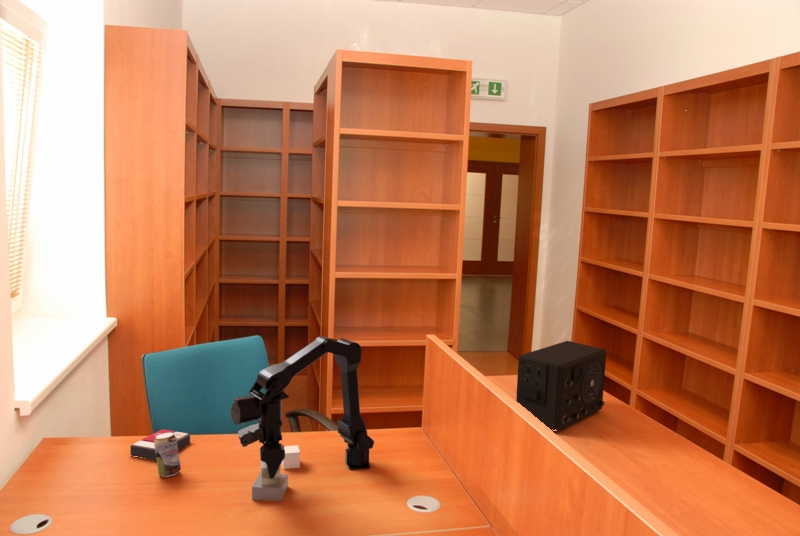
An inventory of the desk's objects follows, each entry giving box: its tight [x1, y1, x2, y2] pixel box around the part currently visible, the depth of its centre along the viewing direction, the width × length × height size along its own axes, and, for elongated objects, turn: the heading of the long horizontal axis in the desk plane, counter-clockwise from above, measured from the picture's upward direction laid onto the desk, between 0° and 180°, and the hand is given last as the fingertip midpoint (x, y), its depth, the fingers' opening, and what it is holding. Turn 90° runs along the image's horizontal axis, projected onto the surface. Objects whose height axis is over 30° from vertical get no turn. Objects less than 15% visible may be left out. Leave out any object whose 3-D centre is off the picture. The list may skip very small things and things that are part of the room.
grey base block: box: [251, 472, 289, 502], centre depth 168 cm, size 8×8×4 cm
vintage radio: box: [515, 340, 607, 431], centre depth 229 cm, size 38×20×25 cm, turn 135°
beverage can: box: [154, 432, 182, 478], centre depth 176 cm, size 6×7×12 cm
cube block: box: [260, 460, 281, 486], centre depth 167 cm, size 5×5×5 cm
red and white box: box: [130, 429, 191, 462], centre depth 193 cm, size 11×4×15 cm
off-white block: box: [281, 445, 301, 470], centre depth 185 cm, size 5×5×5 cm
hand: (270, 470), depth 167 cm, fingers open, 9 cm apart
